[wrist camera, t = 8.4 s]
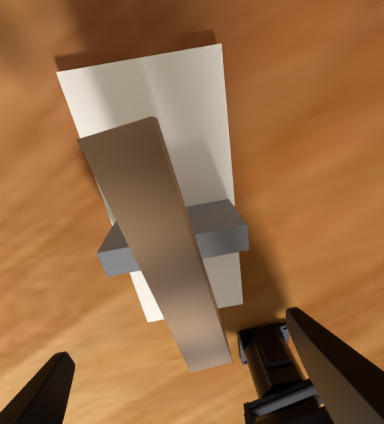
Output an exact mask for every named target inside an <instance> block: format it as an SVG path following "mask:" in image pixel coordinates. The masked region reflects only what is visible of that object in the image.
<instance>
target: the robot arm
mask: <svg viewBox="0 0 384 424" xmlns="http://www.w3.org/2000/svg"><path fill="white" fill-rule="evenodd" d="M289 334H290V336H291V338H292V340H293V343H294V345H295V347H296V350H297V352H298V354H299V357H300V359H301V361H302V363H303V366H304V368H305V370H306V372H307V374H308V376H309V379H306V378H305V377H304V375H303V373H302V371H301V369H300V367H299V365H298V363H297V361H296V359H295V357H294V355H293V353H292V352H291V350H290V348H289V346H288V337H289ZM238 335H239V345H240V354H241V361H242V364H243V365H246V364H248V366H249V370H250V373H251V376H252V379H253V382H254V386H255V389H256V392H257V395H258V398H259V399H257V400H255V401H252V402H250V403H249V402H247V403H244V411H245V413H244V416H245V423H246V424H384V371H382V370H381V369H380V368H378V367H377V366H376V365H374V364H373V363H372V362H370V361H369V360H368V359H366V358H365V357H364V356H362V355H361V354H360V353H358V352H357V351H356V350H354V349H353V348H352V347H350V346H349V345H347V344H346V343H345V342H343V341H342V340H341V339H339V338H338V337H337V336H335V335H334V334H333V333H331V332H330V331H329V330H327V329H326V328H325V327H323V326H322V325H321V324H319V323H318V322H317V321H315V320H314V319H313V318H311V317H310V316H309V315H307V314H306V313H304V312H303V311H302V310H300V309H299V308H297V307H291V308H287V309H286V323H281V324H276V325H271V326H266V327H261V328H256V329H251V330H245V331H241V332H239V334H238ZM74 371H75V363H74V361H73V360H72V358H71V357H70V355H69V354H68V352H66V351H65V352H59V353H56V354H54V355H53V356H52V357H51V358H50V359H49V360H48V361H47V363H46V364H45V365H44V366H43V367H42V368H41V369H40V370H39V371H38V372H37V373H36V374H35V376H34V377H33V378H32V379H31V380H30V381H29V382H28V383H27V384H26V385H25V386H24V387H23V389H22V390H21V391H20V392H19V393H18V394H17V395H16V396H15V397H14V398H13V399H12V400H11V401H10V403H9V404H8V405H7V406H6V407H5V408H4V409H3V410H2V411H1V412H0V424H62V423H63V419H64V415H65V411H66V407H67V403H68V398H69V394H70V389H71V385H72V380H73V376H74ZM323 403H324V405H325V406H323V407H321V406H320V404H323Z"/></svg>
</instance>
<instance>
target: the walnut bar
mask: <svg viewBox="0 0 384 424" xmlns="http://www.w3.org/2000/svg"><path fill="white" fill-rule="evenodd" d="M77 142H78V144H79V146H80V148H81V150H82V152H83V154H84V156H85V158H86V160H87V162H88V164H89V166H90V168H91V170H92V172H93V174H94V176H95V178H96V180H97V182H98V185H99V187H100V189H101V191H102V193H103V195H104V197H105V199H106V201H107V203H108V205H109V207H110V209H111V211H112V213H113V215H114V217H115V219H116V221H117V223H118V225H119V227H120V229H121V231H122V233H123V235H124V237H125V239H126V242H127V244H128V246H129V248H130V250H131V252H132V254H133V256H134V258H135V260H136V262H137V264H138V266H139V268H140V270H141V272H142V274H143V276H144V278H145V280H146V282H147V284H148V286H149V288H150V290H151V292H152V294H153V296H154V299H155V301H156V303H157V305H158V307H159V309H160V311H161V313H162V315H163V317H164V319H165V321H166V323H167V325H168V327H169V329H170V331H171V333H172V335H173V337H174V339H175V341H176V343H177V345H178V347H179V349H180V351H181V354H182V356H183V358H184V360H185V362H186V364H187V366H188V368H189V370H190V372H191V373H192V372H196V371H199V370H203V369H207V368H211V367H214V366H218V365H222V364H226V363H229V362H232V358H231V354H230V350H229V346H228V342H227V338H226V334H225V330H224V326H223V322H222V319H221V316H220V313H219V310H218V307H217V303H216V300H215V297H214V294H213V291H212V288H211V285H210V282H209V278H208V275H207V272H206V269H205V266H204V263H203V260H202V257H201V253H200V250H199V247H198V244H197V241H196V238H195V235H194V232H193V228H192V225H191V222H190V219H189V216H188V213H187V210H186V207H185V203H184V200H183V197H182V194H181V191H180V188H179V185H178V182H177V178H176V175H175V172H174V169H173V166H172V163H171V160H170V157H169V153H168V150H167V147H166V144H165V141H164V138H163V135H162V132H161V128H160V125H159V122H158V119H157V118H156V117H153V116H151V117H147V118H144V119H141V120H138V121H135V122H131V123H128V124H125V125H122V126H119V127H115V128H112V129H109V130H106V131H102V132H99V133H96V134H93V135H90V136H86V137H83V138H80V139H77Z"/></svg>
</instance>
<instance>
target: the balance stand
mask: <svg viewBox="0 0 384 424" xmlns="http://www.w3.org/2000/svg"><path fill="white" fill-rule="evenodd" d="M56 73H57V76H58V79H59V81H60V84H61V87H62V90H63V92H64V95H65V98H66V101H67V103H68V106H69V109H70V111H71V114H72V117H73V120H74V122H75V125H76V128H77V131H78V133H79V136H80V138H83V137H86V136H90V135H93V134H96V133H99V132H102V131H106V130H109V129H112V128H115V127H119V126H122V125H125V124H128V123H131V122H135V121H138V120H141V119H144V118H147V117H151V116H153V117H156V118H157V119H158V122H159V125H160V128H161V132H162V135H163V138H164V141H165V144H166V147H167V150H168V153H169V157H170V160H171V163H172V166H173V169H174V172H175V175H176V178H177V182H178V185H179V188H180V191H181V194H182V197H183V200H184V203H185V207H186V210H187V213H188V216H189V219H190V222H191V225H192V228H193V232H194V235H195V238H196V241H197V244H198V247H199V250H200V253H201V257H202V260H203V263H204V266H205V269H206V272H207V275H208V278H209V282H210V285H211V288H212V291H213V294H214V297H215V300H216V303H217V307H218V309H219V308H224V307H229V306H235V305H240V304H243V296H242V284H241V272H240V260H239V252H241V251H247V250H249V236H248V224H247V223H246V222H245V220H244V219H243V218H242V216H241V215H240V214H239V212H238V211H237V210H236V208H235V200H234V188H233V176H232V164H231V152H230V140H229V128H228V116H227V104H226V92H225V80H224V68H223V56H222V44H215V45H210V46H204V47H198V48H192V49H187V50H181V51H175V52H170V53H164V54H158V55H152V56H147V57H141V58H135V59H130V60H124V61H118V62H112V63H107V64H101V65H95V66H90V67H84V68H78V69H72V70H67V71H61V72H56ZM94 177H95V176H94ZM95 180H96V178H95ZM96 182H97V180H96ZM97 185H98V182H97ZM98 188H99V190H100V193H101V196H102V199H103V201H104V204H105V207H106V210H107V212H108V215H109V218H110V220H111V223H112V228H111V230H110V231H109V233H108V235H107V237H106V238H105V240H104V242H103V243H102V245H101V247H100V249H99V250H98V252H97V255H98V257H99V259H100V262H101V264H102V266H103V269H104V271H105V273H106V276H107V277H109V276H114V275H120V274H125V273H130V275H131V278H132V280H133V283H134V286H135V289H136V291H137V294H138V297H139V299H140V302H141V305H142V308H143V310H144V313H145V316H146V319H147V321H148V322H151V321H157V320H162V319H164V317H163V315H162V313H161V311H160V309H159V307H158V305H157V303H156V301H155V299H154V296H153V294H152V292H151V290H150V288H149V286H148V284H147V282H146V280H145V278H144V276H143V274H142V272H141V270H140V268H139V266H138V264H137V262H136V260H135V258H134V256H133V254H132V252H131V250H130V248H129V246H128V244H127V242H126V239H125V237H124V235H123V233H122V231H121V229H120V227H119V225H118V223H117V221H116V219H115V217H114V215H113V213H112V211H111V209H110V207H109V205H108V203H107V201H106V199H105V197H104V195H103V193H102V191H101V189H100V187H99V185H98Z"/></svg>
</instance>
